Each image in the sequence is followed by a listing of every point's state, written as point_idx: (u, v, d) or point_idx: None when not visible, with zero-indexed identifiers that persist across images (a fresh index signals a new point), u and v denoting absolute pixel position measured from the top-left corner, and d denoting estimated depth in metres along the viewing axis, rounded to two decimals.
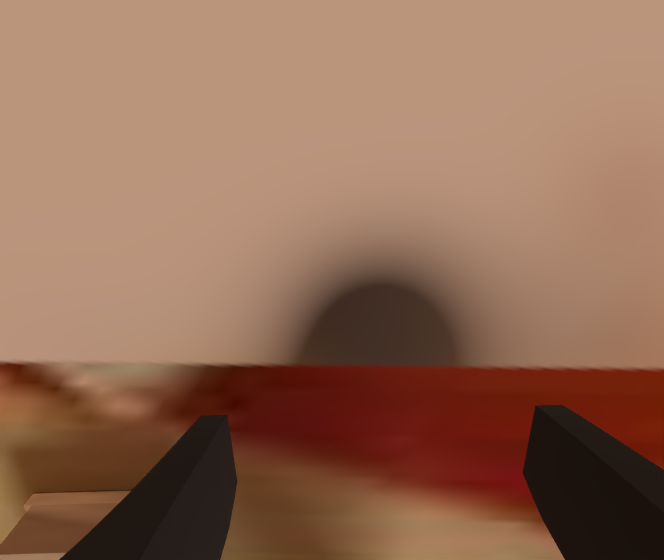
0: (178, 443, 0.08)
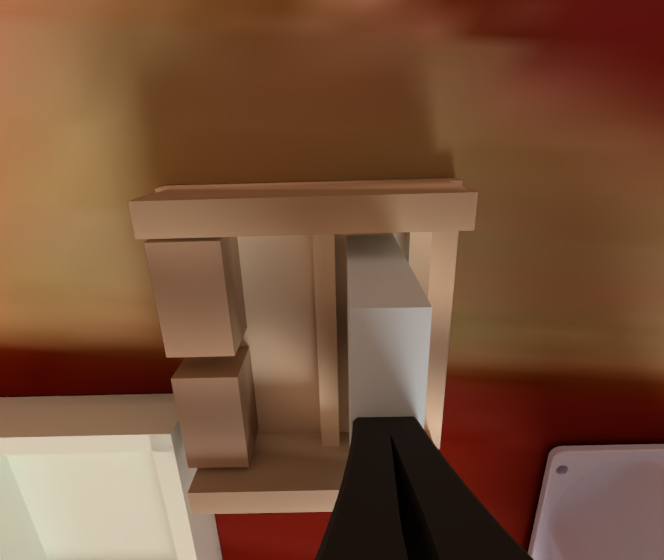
0: (358, 437, 0.08)
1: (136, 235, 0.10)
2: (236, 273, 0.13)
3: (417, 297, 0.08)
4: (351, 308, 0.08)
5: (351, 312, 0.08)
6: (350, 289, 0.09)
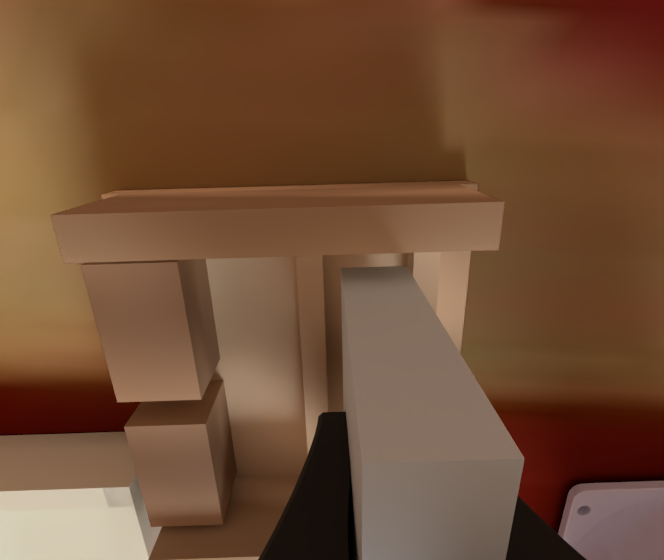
0: (319, 439, 0.08)
1: (64, 257, 0.08)
2: (203, 297, 0.11)
3: (485, 423, 0.04)
4: (365, 463, 0.04)
5: (365, 471, 0.04)
6: (357, 398, 0.05)
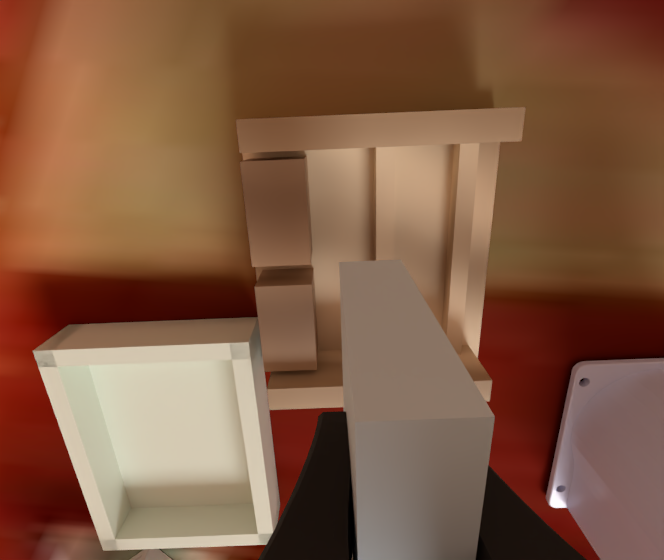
0: (319, 439, 0.08)
1: (239, 150, 0.12)
2: (308, 196, 0.15)
3: (463, 390, 0.05)
4: (357, 422, 0.04)
5: (358, 428, 0.04)
6: (352, 371, 0.05)
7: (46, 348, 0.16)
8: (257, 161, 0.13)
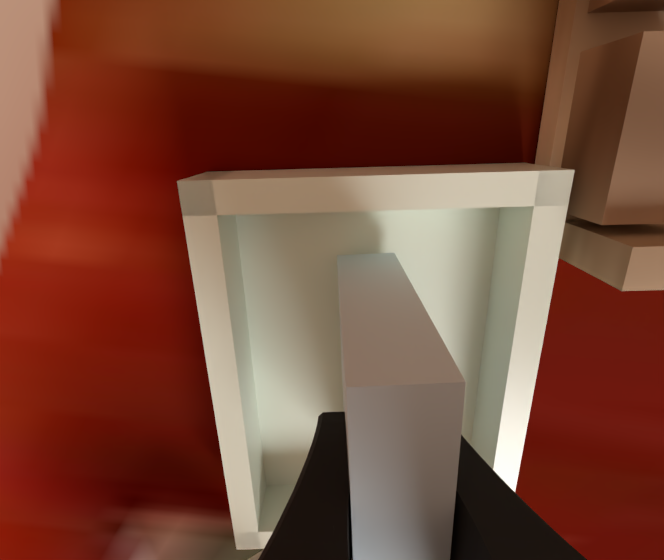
0: (319, 439, 0.08)
1: None
2: None
3: (441, 362, 0.06)
4: (348, 387, 0.05)
5: (348, 393, 0.05)
6: (345, 348, 0.06)
7: (199, 179, 0.09)
8: None
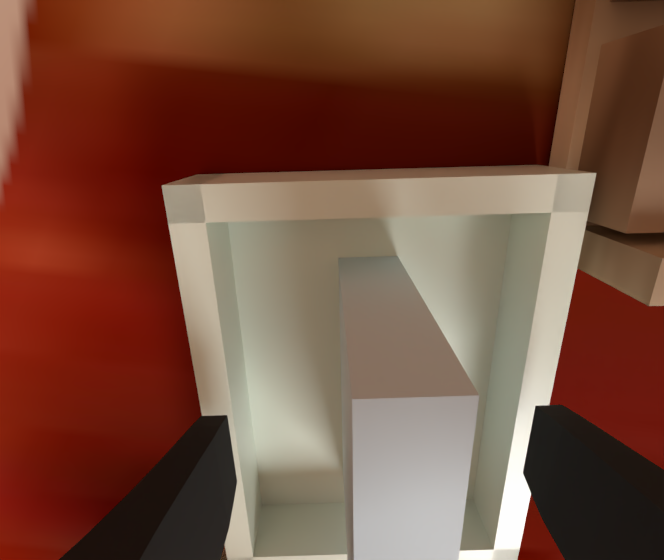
0: (178, 443, 0.08)
1: None
2: None
3: (452, 373, 0.05)
4: (354, 399, 0.05)
5: (354, 405, 0.05)
6: (350, 356, 0.06)
7: (187, 183, 0.08)
8: None
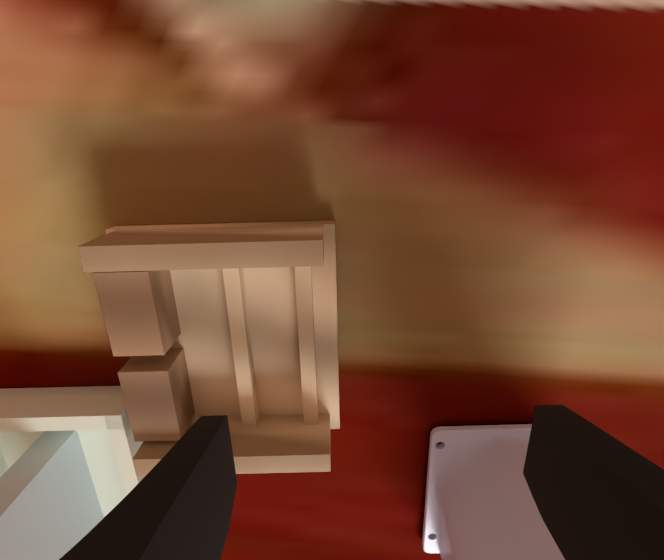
0: (178, 443, 0.08)
1: (84, 269, 0.15)
2: (167, 293, 0.17)
3: None
4: None
5: None
6: None
7: None
8: (108, 272, 0.16)
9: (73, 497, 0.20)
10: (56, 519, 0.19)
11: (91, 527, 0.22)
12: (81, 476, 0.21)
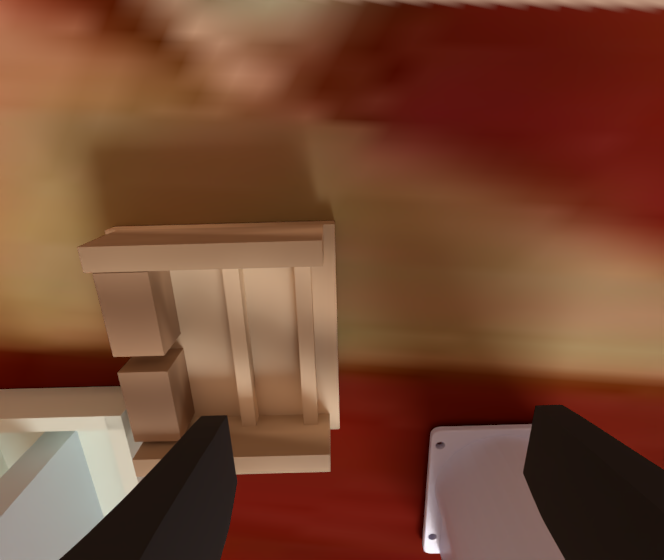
0: (178, 443, 0.08)
1: (84, 269, 0.15)
2: (167, 293, 0.17)
3: None
4: None
5: None
6: None
7: None
8: (108, 273, 0.16)
9: (73, 497, 0.20)
10: (56, 520, 0.19)
11: (91, 527, 0.22)
12: (81, 477, 0.21)
